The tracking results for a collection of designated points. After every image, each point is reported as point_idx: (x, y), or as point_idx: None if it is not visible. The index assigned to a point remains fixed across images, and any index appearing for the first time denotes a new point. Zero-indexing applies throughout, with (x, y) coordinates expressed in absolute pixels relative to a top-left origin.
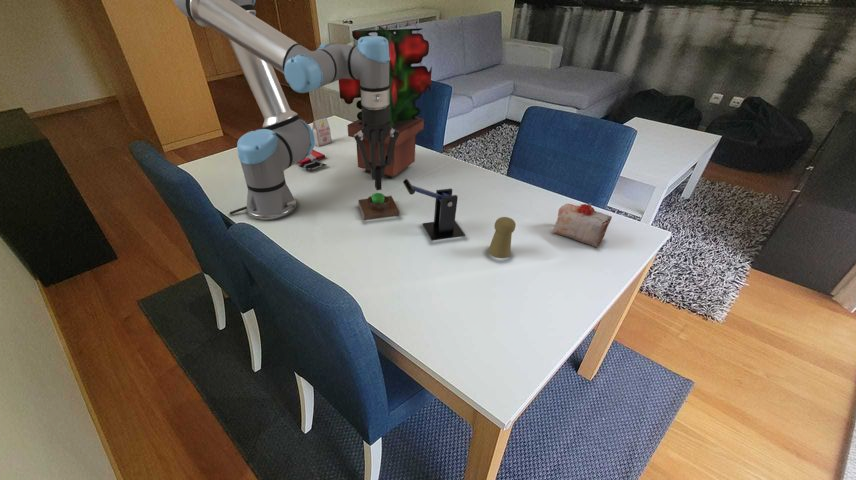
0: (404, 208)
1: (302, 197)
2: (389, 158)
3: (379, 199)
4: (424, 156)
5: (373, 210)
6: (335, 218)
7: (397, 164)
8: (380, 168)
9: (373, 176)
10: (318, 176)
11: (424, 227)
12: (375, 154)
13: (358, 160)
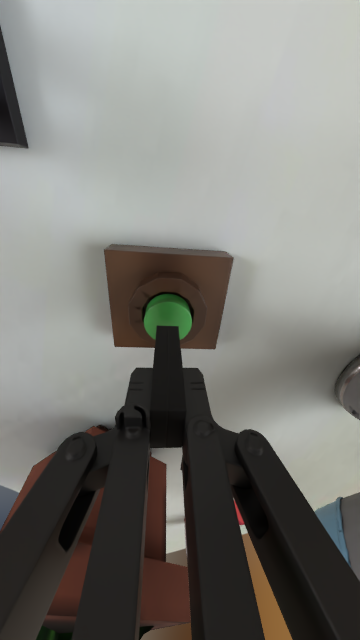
0: (85, 297)
1: (309, 397)
2: (43, 511)
3: (168, 300)
4: (15, 477)
5: (192, 279)
6: (289, 300)
7: None
8: (150, 419)
9: (195, 379)
10: None
11: (9, 102)
12: (203, 602)
13: (164, 481)
